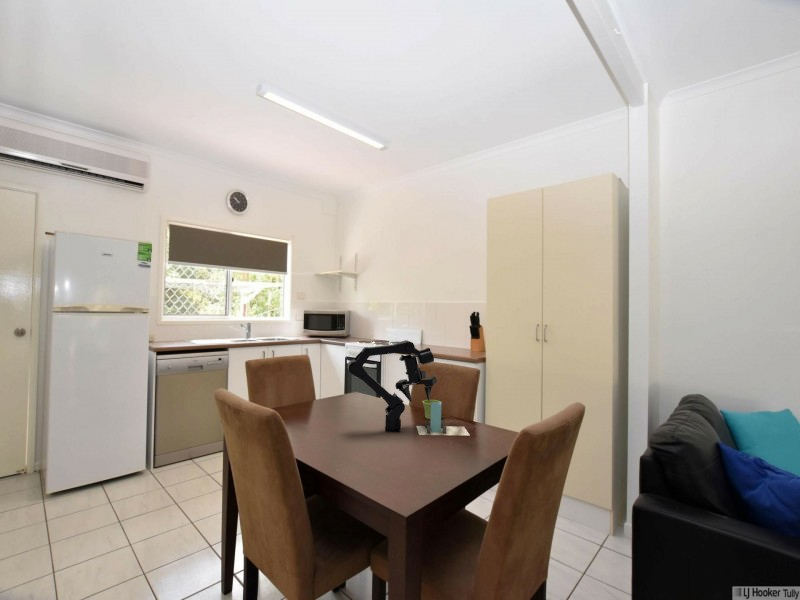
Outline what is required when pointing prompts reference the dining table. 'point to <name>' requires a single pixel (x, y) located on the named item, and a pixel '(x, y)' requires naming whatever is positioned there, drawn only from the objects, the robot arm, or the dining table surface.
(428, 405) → the plant pot
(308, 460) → the dining table surface
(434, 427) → the teal post
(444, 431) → the peg board
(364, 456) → the dining table surface
